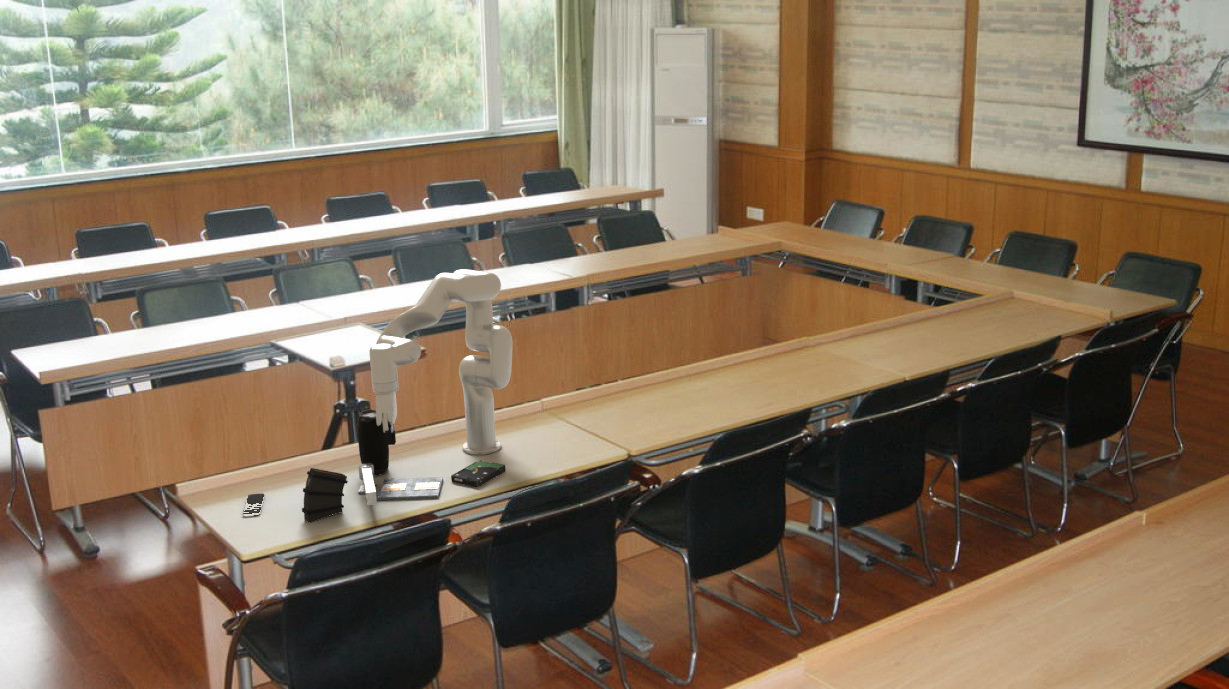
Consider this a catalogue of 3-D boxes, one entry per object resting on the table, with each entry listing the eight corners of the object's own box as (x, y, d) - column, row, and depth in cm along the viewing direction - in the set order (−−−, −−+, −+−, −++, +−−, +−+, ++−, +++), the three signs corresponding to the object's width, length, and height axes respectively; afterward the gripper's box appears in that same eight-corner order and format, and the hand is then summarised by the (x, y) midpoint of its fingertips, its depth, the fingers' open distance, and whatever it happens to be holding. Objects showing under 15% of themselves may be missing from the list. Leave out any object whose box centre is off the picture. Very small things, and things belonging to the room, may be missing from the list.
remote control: (260, 518, 347) (265, 496, 361) (259, 513, 346) (264, 491, 360) (242, 520, 346) (248, 498, 360) (242, 514, 346) (247, 492, 360)
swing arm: (373, 473, 364) (372, 462, 363) (379, 503, 342) (378, 491, 341) (359, 475, 363) (358, 464, 362) (364, 505, 341) (363, 493, 340)
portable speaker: (395, 468, 379) (391, 410, 373) (377, 479, 371) (372, 419, 365) (374, 464, 383) (369, 406, 377) (355, 474, 375) (350, 415, 369)
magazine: (292, 517, 341) (308, 467, 341) (332, 523, 350) (348, 474, 350) (298, 521, 338) (314, 470, 338) (338, 527, 347) (354, 478, 347)
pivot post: (361, 487, 365) (360, 475, 364) (377, 486, 365) (376, 475, 364) (358, 494, 360) (357, 482, 359) (375, 493, 360) (374, 481, 359)
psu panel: (384, 482, 368) (384, 478, 368) (443, 480, 369) (442, 476, 368) (377, 500, 355) (376, 496, 355) (438, 498, 355) (437, 494, 355)
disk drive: (478, 490, 362) (506, 472, 375) (477, 481, 362) (505, 464, 374) (451, 484, 367) (479, 466, 380) (450, 475, 367) (479, 458, 379)
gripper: (376, 378, 359) (381, 435, 365) (368, 394, 345) (373, 453, 350) (401, 377, 360) (406, 434, 365) (394, 393, 345) (399, 452, 350)
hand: (390, 443), depth 357 cm, fingers closed
